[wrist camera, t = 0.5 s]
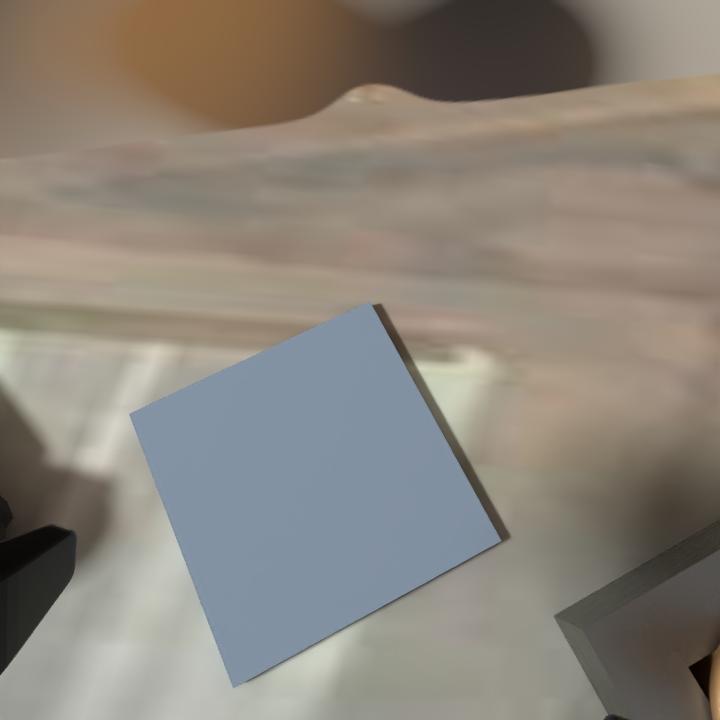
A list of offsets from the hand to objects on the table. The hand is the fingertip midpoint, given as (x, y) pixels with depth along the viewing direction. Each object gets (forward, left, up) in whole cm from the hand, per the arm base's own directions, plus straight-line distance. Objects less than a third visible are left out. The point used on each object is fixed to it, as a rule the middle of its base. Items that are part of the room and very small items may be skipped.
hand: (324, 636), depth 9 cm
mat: (+4, 0, -14) cm, 15 cm away
